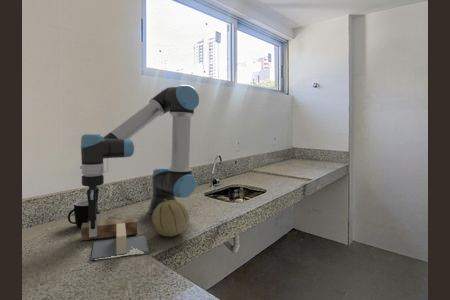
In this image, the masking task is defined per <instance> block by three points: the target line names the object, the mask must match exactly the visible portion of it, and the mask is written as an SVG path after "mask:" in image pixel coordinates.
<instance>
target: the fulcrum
mask: <svg viewBox="0 0 450 300" xmlns="http://www.w3.org/2000/svg"><path fill="white" fill-rule="evenodd" d="M115 237H116V238H114V239H111V238H110V239H105V240H104V239H103V240H96V241H94V242H93V248H92V253H91V259H90V261H91V260H95V259H99V258H105V257H111V256H117V255H124V254H127V253H129V252H130V251H129V250H132V249H133V248H135V249H136V248H137V249H138V250H140V251H142V252H144V253H145V254H144V255H148V254H150V249H149V245H148V242H147V238H146V235H139V236H131V237H127V235H126V228H125V223H121V224H116V236H115ZM132 246H133V247H132ZM131 247H132V248H131Z"/></svg>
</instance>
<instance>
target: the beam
mask: <svg viewBox="0 0 450 300" xmlns="http://www.w3.org/2000/svg"><path fill="white" fill-rule="evenodd" d="M121 223H125V228H126V236H129V235H130V236H131V235H137V234H138V219H137V217H133V218H132V217H130V218H123V219H122V218H121V219H109V220H100V221H99V220H98V222H97V237H89V223H82V226H81V228H80V229H81V230H80V233H81V236H80V237H81V238H80V239H81V241H87V240H97V239H105V237H106V238H112V237H111V236H115V237H116V224H121Z"/></svg>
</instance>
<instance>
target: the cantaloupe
mask: <svg viewBox="0 0 450 300" xmlns="http://www.w3.org/2000/svg"><path fill="white" fill-rule="evenodd" d="M163 201H164V202H162V203H160V204H159V205H158V206H157V207H156V208H155V209H154V211H153V214H151V220H152V222H151V223H152V225H153V228H154V230H155V231H156V233H158V234H159V235H161V236H163V237H166V238H167V237H171V238H173V237H176V236H177V235H179V234H182V233H183V232H184V231H185V230H186V229H187V227H188V225H189V221H190V216H189V215H190V214H189V212H188V209H187V207H186V206H185V205H184V203H182V202H181V201H179V200H177V199H176V200H166V199H163Z"/></svg>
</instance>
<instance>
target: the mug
mask: <svg viewBox="0 0 450 300" xmlns="http://www.w3.org/2000/svg"><path fill="white" fill-rule="evenodd" d="M72 213H74V221H72V220H71V215H72ZM88 218H89V214H88V199H86V200H80V201H76V202H74V204H73V209H72V210H70V211H69V212H68V214H67V221H68V222H69V223H70V224H72V225H76V226H77V228H79V227H81V226H82V223H89V221H87V219H88Z"/></svg>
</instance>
